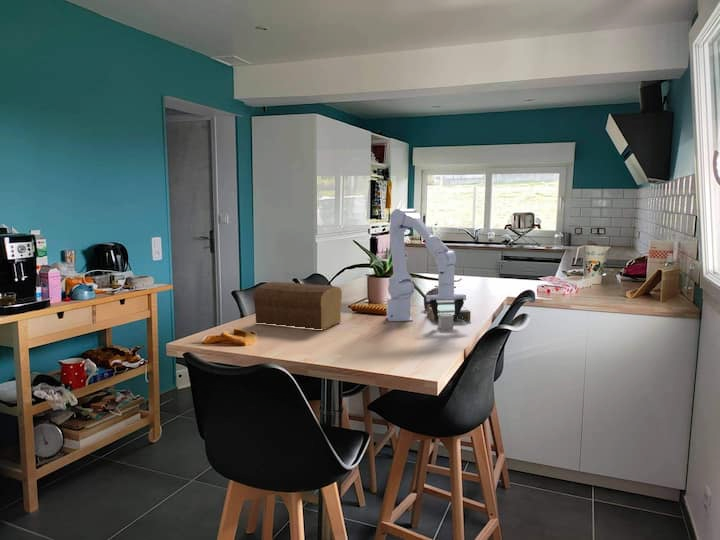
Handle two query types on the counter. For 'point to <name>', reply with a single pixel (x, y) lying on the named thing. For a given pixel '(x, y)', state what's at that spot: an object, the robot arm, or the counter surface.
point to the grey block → (445, 321)
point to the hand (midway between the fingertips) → (446, 319)
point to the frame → (463, 314)
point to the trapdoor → (447, 307)
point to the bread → (298, 304)
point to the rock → (431, 292)
